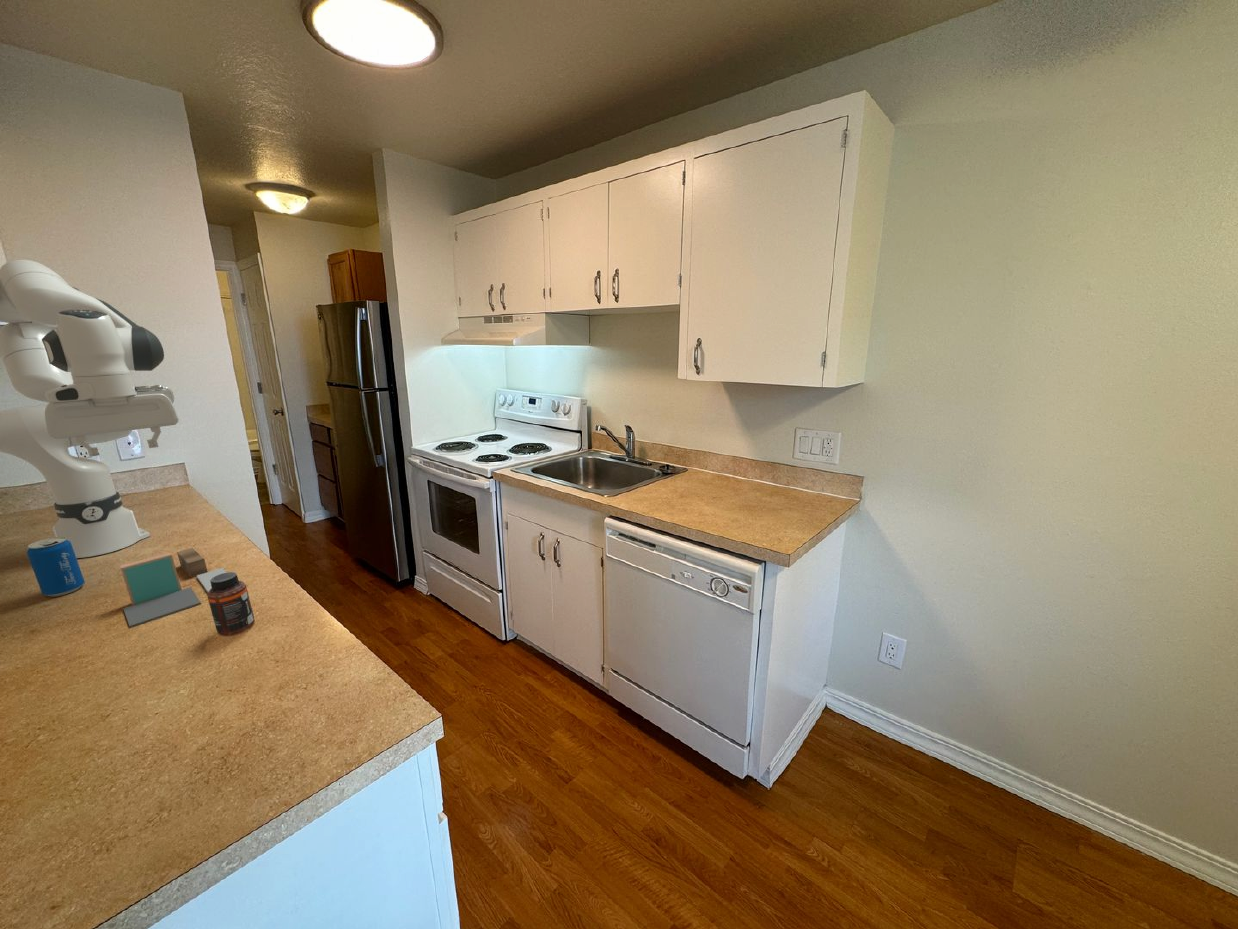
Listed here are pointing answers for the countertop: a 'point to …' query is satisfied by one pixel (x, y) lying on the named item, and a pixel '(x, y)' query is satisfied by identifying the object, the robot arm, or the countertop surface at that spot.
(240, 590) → the supplement bottle
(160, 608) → the mat
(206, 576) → the pad
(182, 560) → the tall taupe beveled block
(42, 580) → the beverage can
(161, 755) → the countertop surface
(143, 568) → the tile
